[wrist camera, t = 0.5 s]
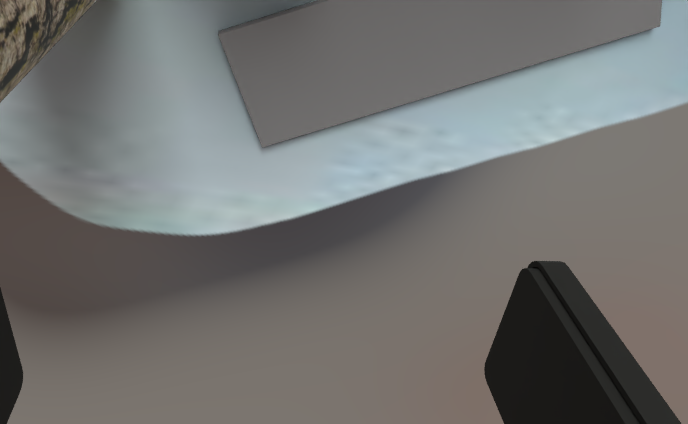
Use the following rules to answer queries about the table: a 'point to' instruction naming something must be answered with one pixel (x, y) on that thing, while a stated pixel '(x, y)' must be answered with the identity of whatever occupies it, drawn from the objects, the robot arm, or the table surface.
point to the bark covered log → (32, 34)
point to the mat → (403, 52)
